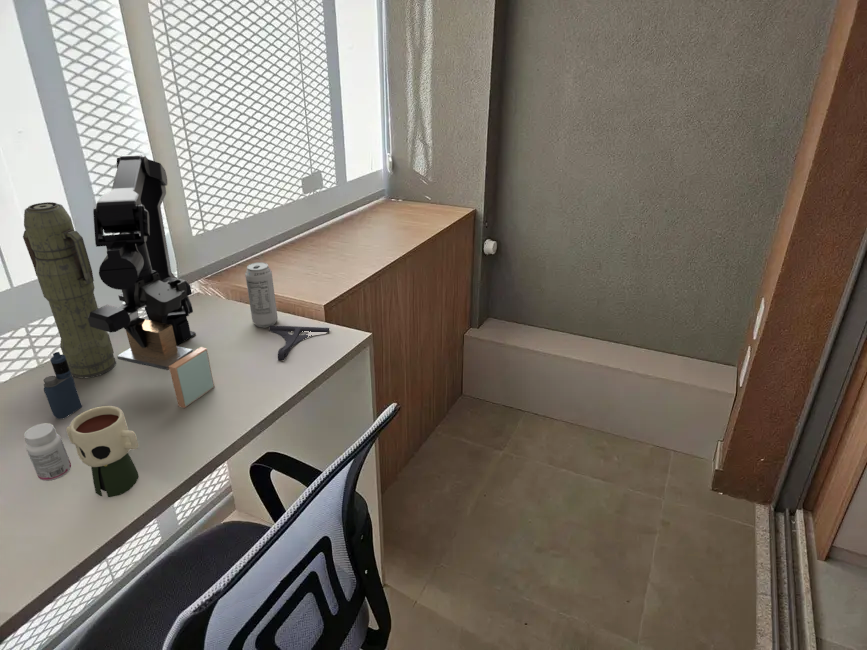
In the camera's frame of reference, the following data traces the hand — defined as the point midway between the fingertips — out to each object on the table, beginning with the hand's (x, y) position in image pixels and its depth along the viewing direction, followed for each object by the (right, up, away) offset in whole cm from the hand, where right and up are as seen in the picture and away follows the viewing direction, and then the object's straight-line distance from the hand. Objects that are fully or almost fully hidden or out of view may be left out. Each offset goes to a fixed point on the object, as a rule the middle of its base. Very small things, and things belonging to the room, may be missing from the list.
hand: (152, 342), depth 110 cm
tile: (+8, -11, +2) cm, 13 cm away
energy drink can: (+13, +4, +30) cm, 33 cm away
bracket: (+22, -2, +21) cm, 30 cm away
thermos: (-18, -6, +11) cm, 22 cm away
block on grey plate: (0, -3, +1) cm, 3 cm away
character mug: (+5, -22, -20) cm, 30 cm away
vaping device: (-14, -13, -3) cm, 20 cm away
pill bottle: (-7, -21, -18) cm, 28 cm away
